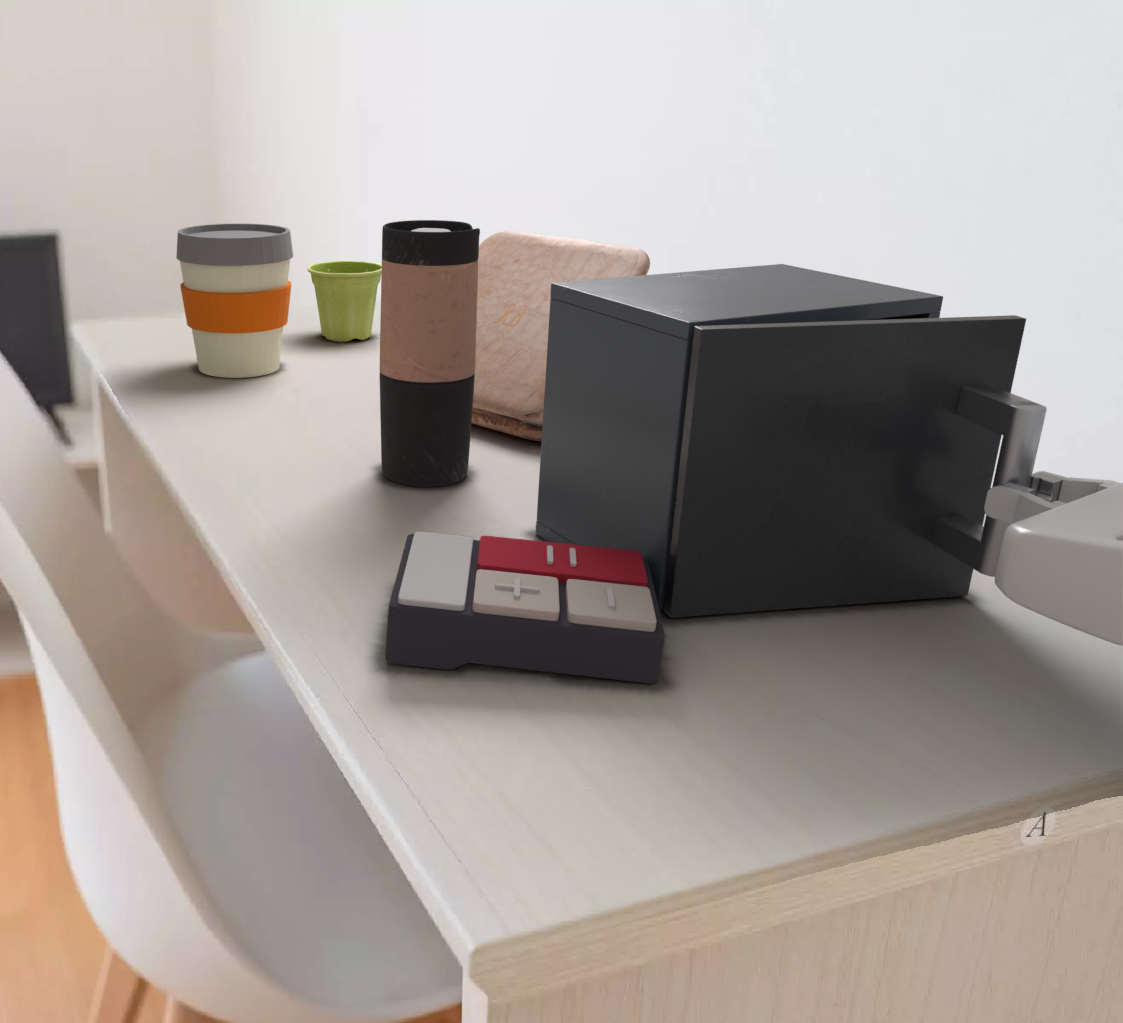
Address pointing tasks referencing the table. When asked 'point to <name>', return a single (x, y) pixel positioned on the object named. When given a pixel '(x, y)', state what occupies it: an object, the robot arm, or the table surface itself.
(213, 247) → the reusable coffee cup
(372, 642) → the table surface
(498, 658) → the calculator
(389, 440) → the travel mug
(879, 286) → the dark grey cabinet
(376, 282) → the plant pot
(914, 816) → the table surface
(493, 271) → the case
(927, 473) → the dark grey door
